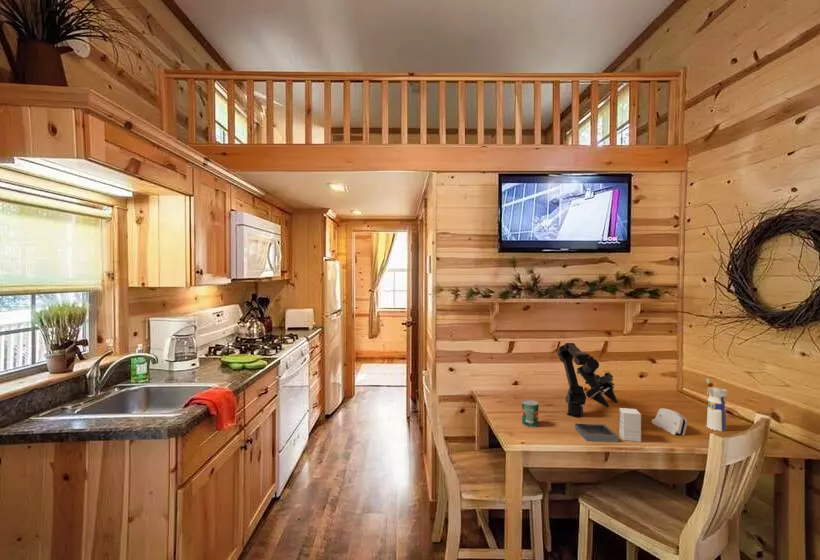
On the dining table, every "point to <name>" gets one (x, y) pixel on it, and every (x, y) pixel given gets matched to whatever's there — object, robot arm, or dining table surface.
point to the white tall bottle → (716, 408)
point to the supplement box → (630, 424)
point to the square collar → (596, 432)
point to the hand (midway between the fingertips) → (612, 404)
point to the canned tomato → (530, 413)
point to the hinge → (670, 421)
